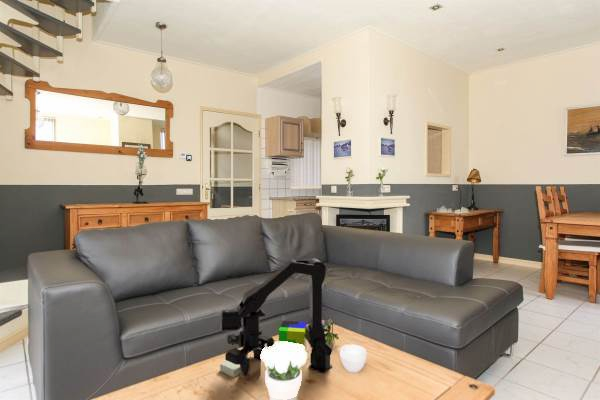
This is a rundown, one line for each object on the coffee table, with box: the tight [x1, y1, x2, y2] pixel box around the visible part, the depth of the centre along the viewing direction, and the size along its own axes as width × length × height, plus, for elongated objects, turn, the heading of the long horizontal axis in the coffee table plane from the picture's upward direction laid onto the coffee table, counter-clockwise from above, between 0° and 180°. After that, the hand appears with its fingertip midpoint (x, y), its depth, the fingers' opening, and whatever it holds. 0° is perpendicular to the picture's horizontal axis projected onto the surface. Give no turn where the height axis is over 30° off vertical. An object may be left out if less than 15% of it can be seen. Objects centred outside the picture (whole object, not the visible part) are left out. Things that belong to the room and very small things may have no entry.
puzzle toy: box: [278, 320, 308, 348], centre depth 146 cm, size 10×10×10 cm
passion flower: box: [322, 318, 340, 345], centre depth 155 cm, size 11×11×12 cm
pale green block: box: [219, 360, 240, 378], centre depth 131 cm, size 7×7×2 cm
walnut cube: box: [239, 356, 262, 382], centre depth 127 cm, size 5×5×5 cm
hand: (250, 372), depth 127 cm, fingers closed on walnut cube, 5 cm apart
